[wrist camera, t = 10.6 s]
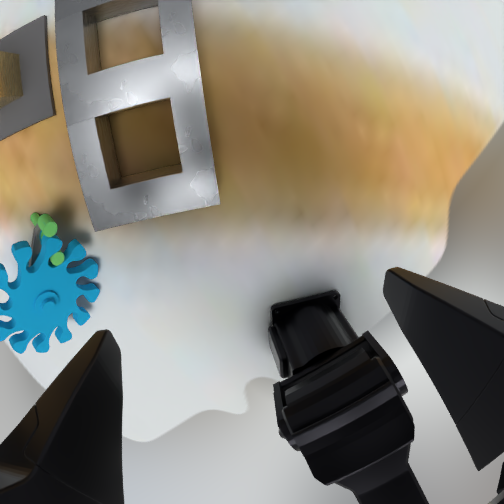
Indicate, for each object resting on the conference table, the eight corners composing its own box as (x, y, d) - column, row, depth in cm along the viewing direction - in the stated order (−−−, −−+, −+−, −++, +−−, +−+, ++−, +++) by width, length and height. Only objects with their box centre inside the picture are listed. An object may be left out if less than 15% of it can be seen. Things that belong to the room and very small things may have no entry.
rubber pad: (46, 16, 11) (44, 15, 11) (55, 114, 15) (53, 114, 15) (-32, 63, 10) (-34, 63, 10) (-21, 152, 14) (-24, 153, 14)
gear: (93, 345, 22) (-7, 370, 13) (63, 306, 24) (-26, 319, 15) (122, 228, 20) (-10, 223, 11) (86, 199, 22) (-21, 189, 13)
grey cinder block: (186, -26, 12) (186, -45, 10) (216, 190, 20) (220, 204, 17) (71, 5, 11) (54, -7, 9) (106, 214, 19) (95, 231, 16)
